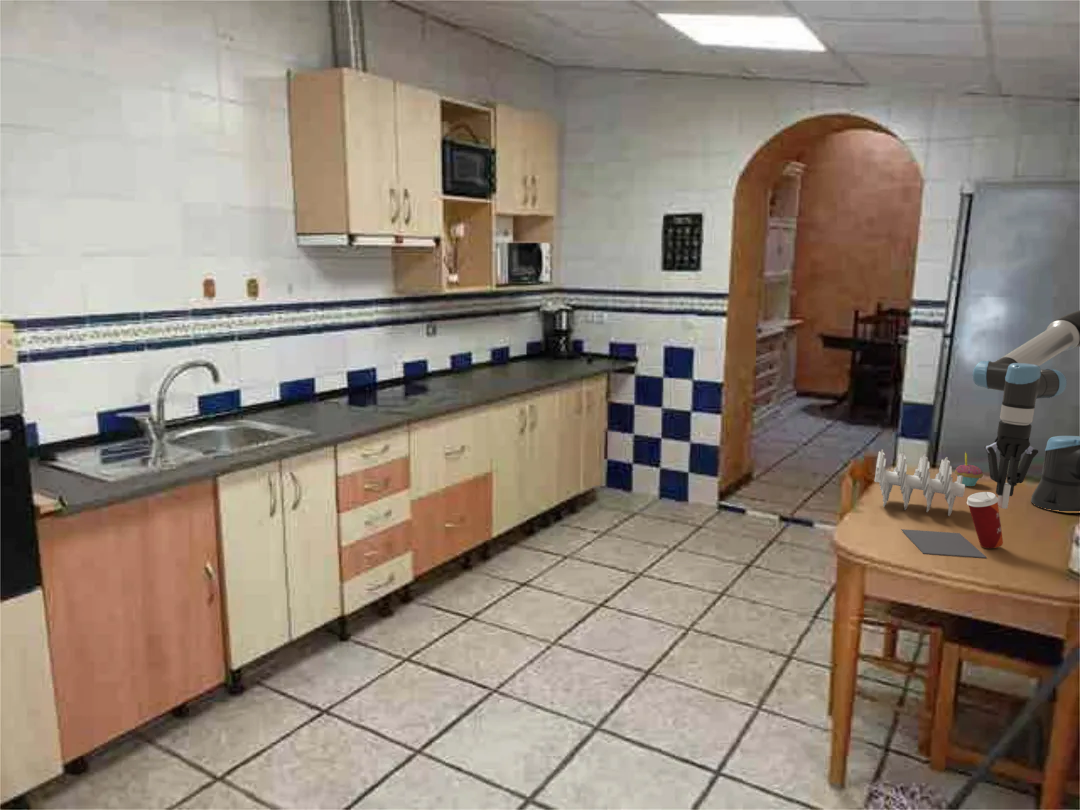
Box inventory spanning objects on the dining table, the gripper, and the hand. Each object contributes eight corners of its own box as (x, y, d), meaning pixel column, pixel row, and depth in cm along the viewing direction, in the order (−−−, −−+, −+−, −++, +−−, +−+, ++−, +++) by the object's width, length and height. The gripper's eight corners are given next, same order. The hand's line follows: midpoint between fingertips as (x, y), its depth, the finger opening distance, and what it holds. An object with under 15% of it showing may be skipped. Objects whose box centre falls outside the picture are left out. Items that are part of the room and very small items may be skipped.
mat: (959, 534, 228) (959, 533, 228) (986, 558, 211) (986, 557, 211) (900, 530, 230) (901, 529, 230) (923, 553, 212) (923, 552, 212)
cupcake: (958, 487, 274) (962, 453, 272) (949, 480, 282) (954, 447, 280) (984, 489, 273) (989, 455, 270) (975, 482, 281) (980, 449, 279)
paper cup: (1013, 545, 215) (1003, 496, 212) (985, 552, 215) (974, 504, 213) (997, 535, 222) (987, 488, 220) (970, 542, 223) (959, 496, 221)
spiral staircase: (957, 532, 242) (868, 515, 251) (957, 493, 255) (873, 478, 264) (970, 487, 231) (878, 471, 240) (970, 449, 244) (882, 435, 253)
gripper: (1034, 420, 215) (1020, 504, 219) (983, 417, 216) (971, 501, 221) (1048, 426, 207) (1034, 513, 212) (996, 423, 209) (983, 509, 213)
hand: (1002, 506), depth 216 cm, fingers closed
